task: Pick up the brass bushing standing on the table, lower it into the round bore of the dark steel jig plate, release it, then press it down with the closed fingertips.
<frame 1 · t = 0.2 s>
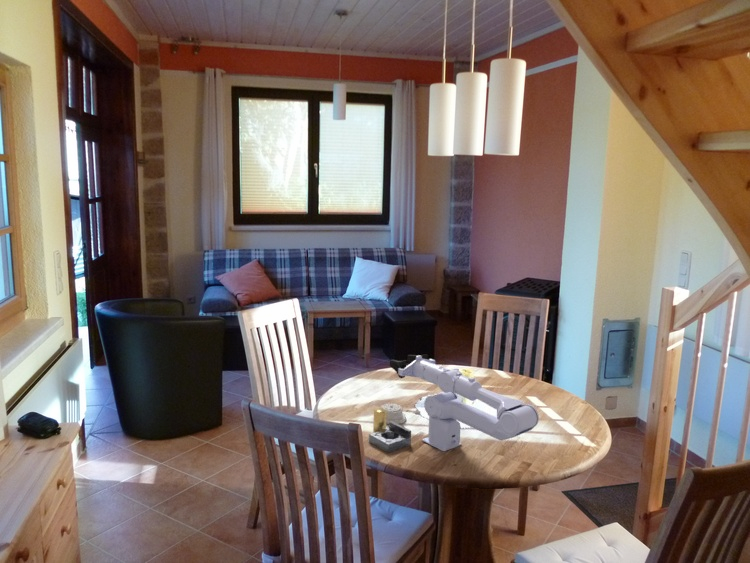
hand: (399, 360, 194), 21 cm above the table, tool horizontal, fingers open, 7 cm apart
bushing: (379, 431, 190), on the table
mechanical component: (390, 420, 201), on the table
jig: (389, 443, 182), on the table
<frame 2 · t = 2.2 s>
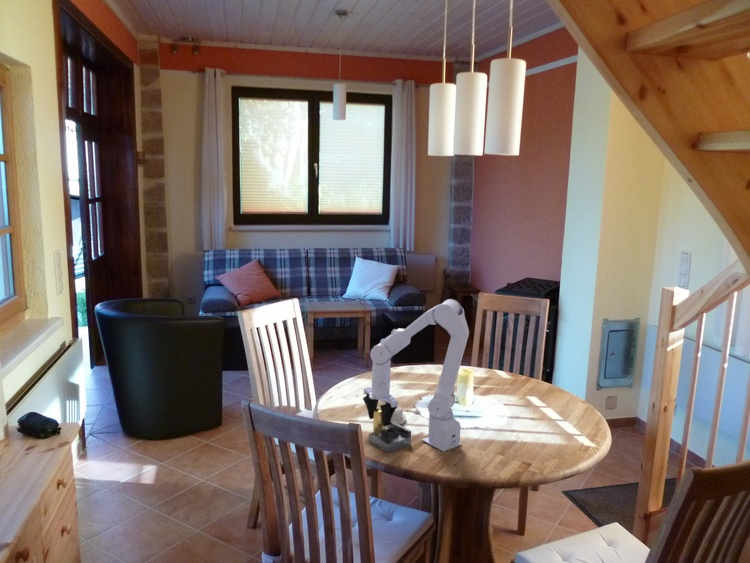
hand: (379, 421, 190), 3 cm above the table, tool pointing down, fingers open, 6 cm apart
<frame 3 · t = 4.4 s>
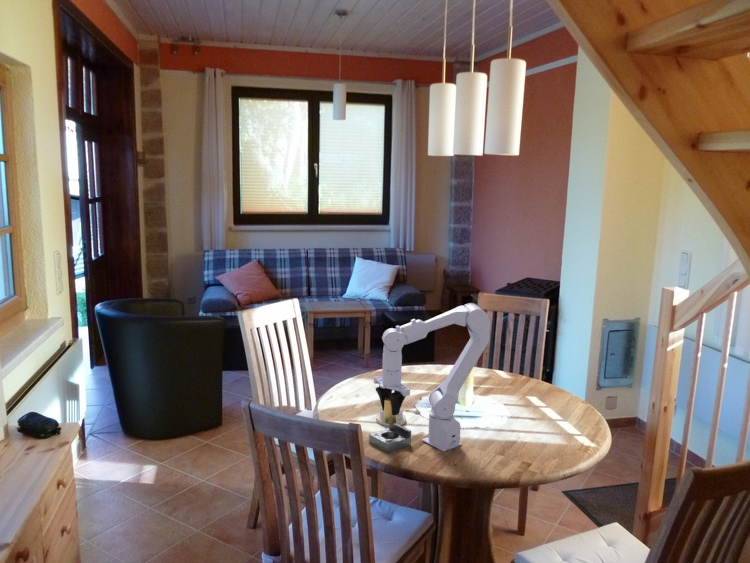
hand: (390, 412, 180), 10 cm above the table, tool pointing down, fingers closed on bushing, 4 cm apart
bushing: (390, 421, 181), point 7 cm above the table, touching gripper
when the fingers open (3 cm above the table, at t = 6.1 s): bushing stays where it is, resting in jig.
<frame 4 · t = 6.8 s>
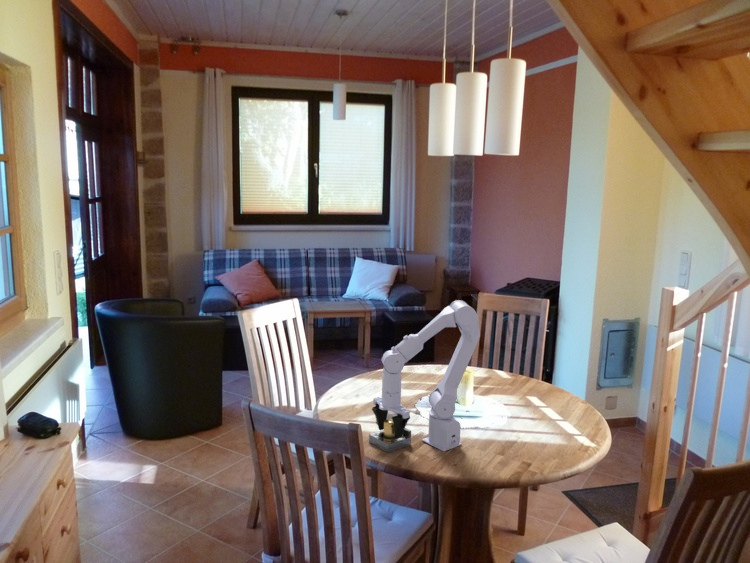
hand: (390, 433, 181), 3 cm above the table, tool pointing down, fingers open, 7 cm apart
bushing: (389, 443, 182), resting in jig
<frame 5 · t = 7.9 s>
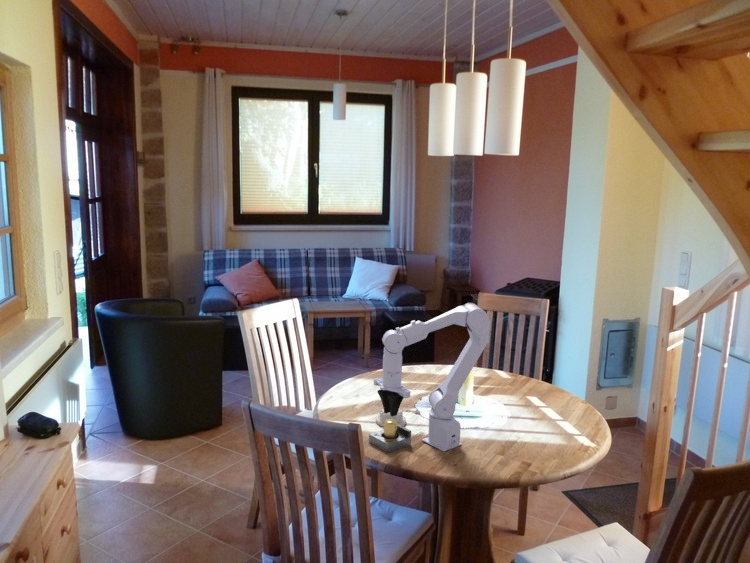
hand: (390, 414, 180), 9 cm above the table, tool pointing down, fingers closed
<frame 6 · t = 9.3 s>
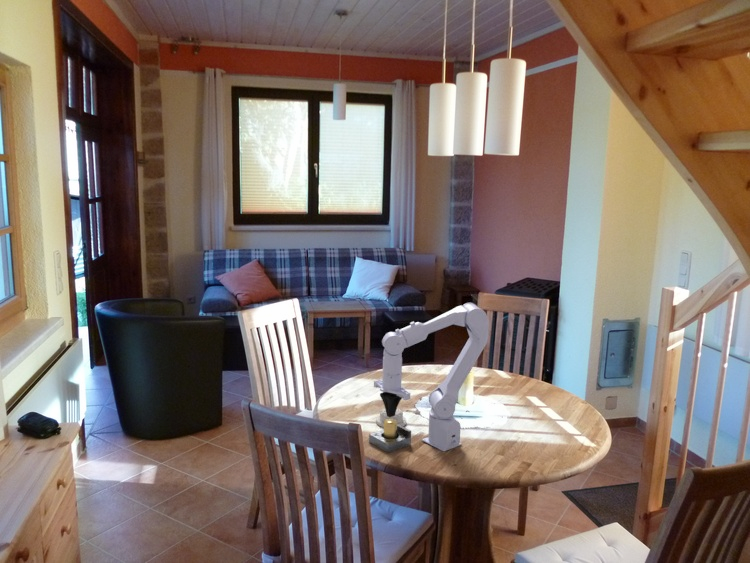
hand: (390, 415, 180), 9 cm above the table, tool pointing down, fingers closed
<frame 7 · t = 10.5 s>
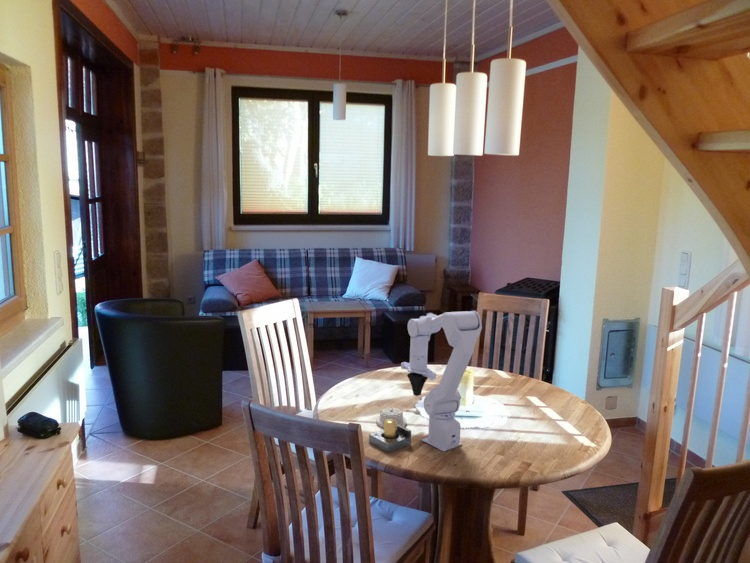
hand: (417, 394, 196), 10 cm above the table, tool pointing down, fingers closed
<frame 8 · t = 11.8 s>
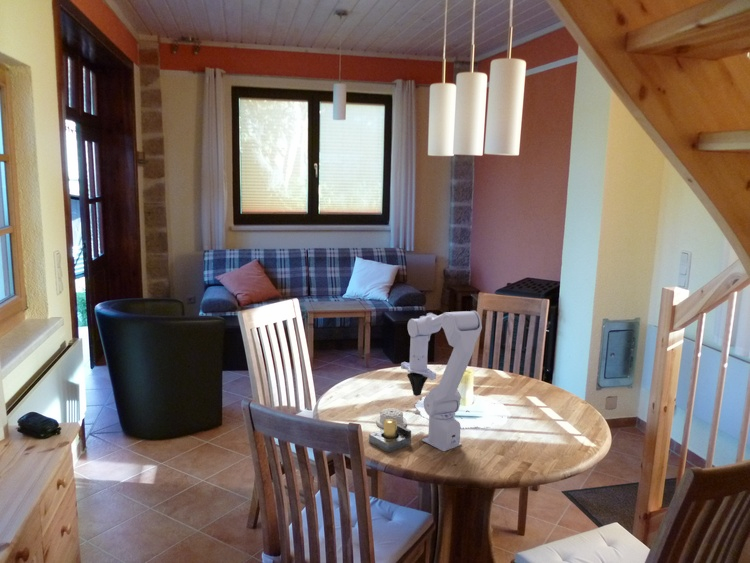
hand: (417, 394, 196), 10 cm above the table, tool pointing down, fingers closed
at the end: bushing 0.0 cm off-centre on the jig, point 0.0 cm above the jig's base; bushing tilted 0°; the gripper is holding nothing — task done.
